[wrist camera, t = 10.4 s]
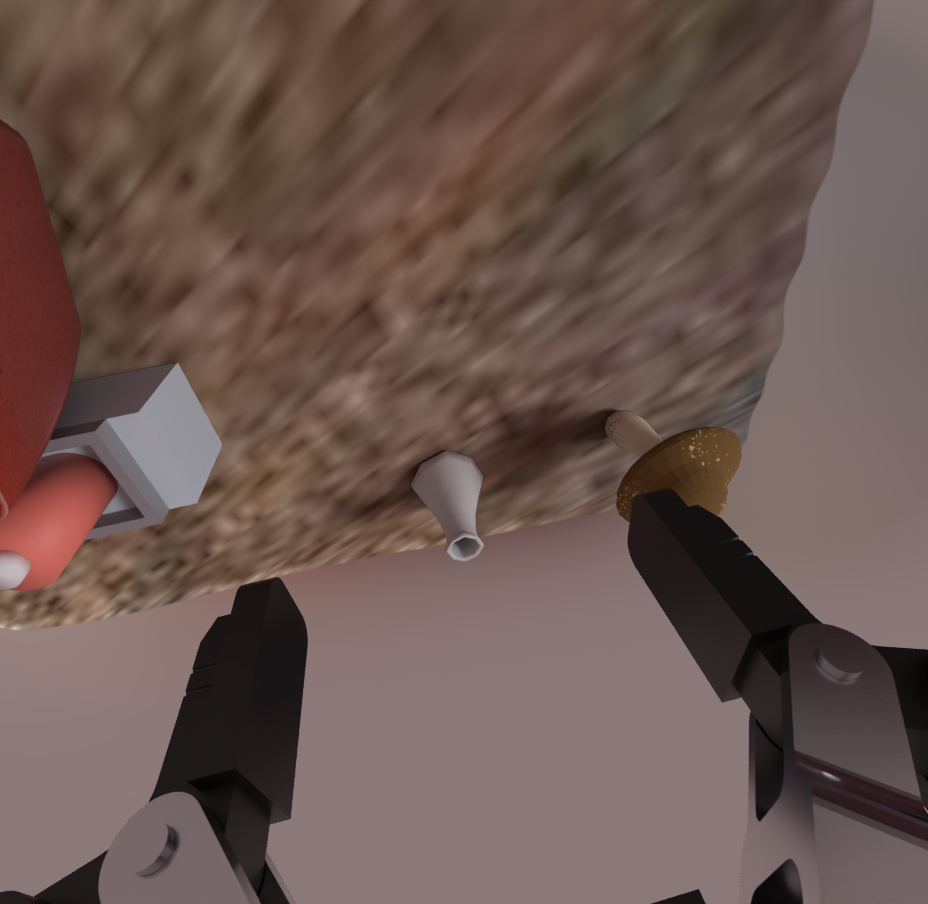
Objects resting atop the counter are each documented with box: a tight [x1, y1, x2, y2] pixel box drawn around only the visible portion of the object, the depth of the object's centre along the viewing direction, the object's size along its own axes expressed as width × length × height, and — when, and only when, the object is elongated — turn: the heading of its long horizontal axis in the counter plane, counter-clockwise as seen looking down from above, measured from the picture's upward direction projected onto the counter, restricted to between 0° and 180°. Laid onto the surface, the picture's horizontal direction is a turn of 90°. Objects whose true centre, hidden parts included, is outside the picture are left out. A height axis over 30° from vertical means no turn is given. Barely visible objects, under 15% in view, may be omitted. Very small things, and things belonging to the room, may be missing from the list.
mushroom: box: [605, 411, 742, 522], centre depth 41 cm, size 9×11×15 cm
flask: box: [411, 450, 484, 562], centre depth 44 cm, size 7×7×10 cm
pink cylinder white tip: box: [0, 453, 118, 591], centre depth 28 cm, size 5×5×8 cm
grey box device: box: [37, 362, 222, 540], centre depth 34 cm, size 8×12×10 cm, turn 98°
